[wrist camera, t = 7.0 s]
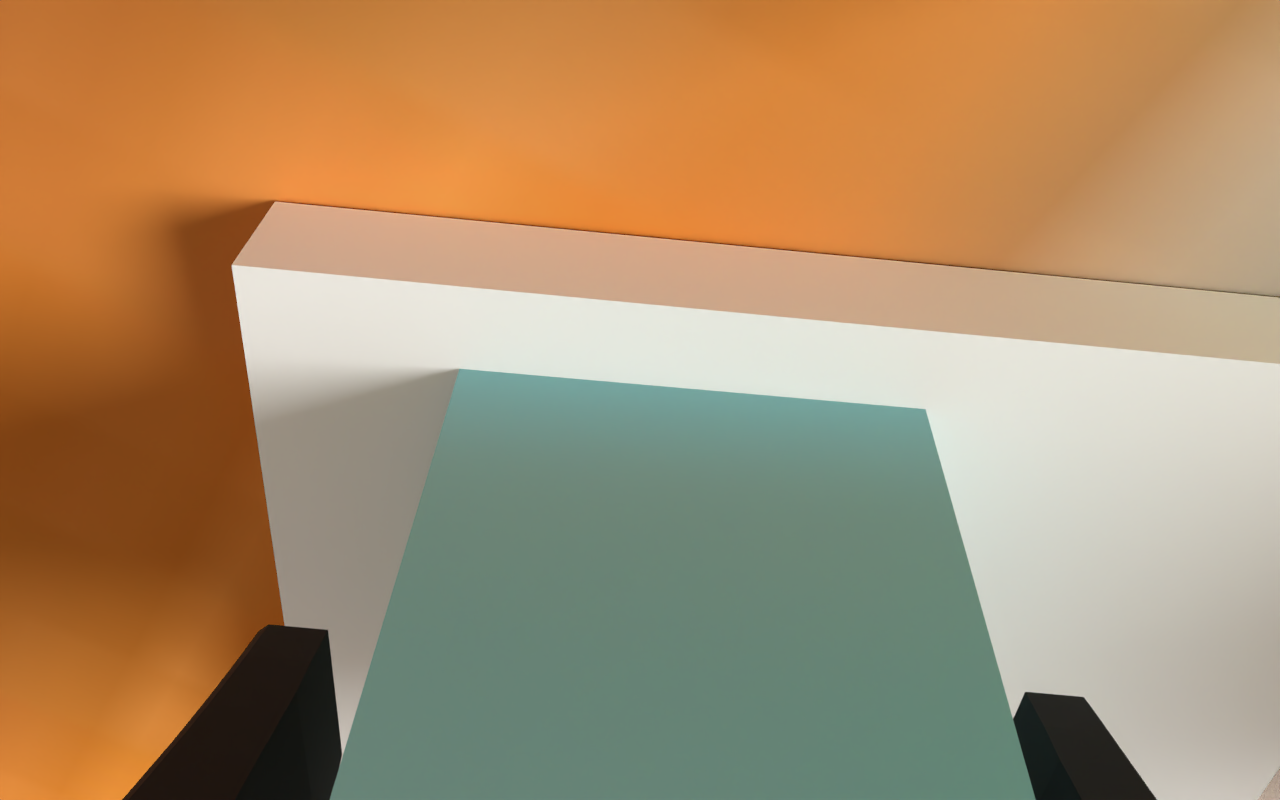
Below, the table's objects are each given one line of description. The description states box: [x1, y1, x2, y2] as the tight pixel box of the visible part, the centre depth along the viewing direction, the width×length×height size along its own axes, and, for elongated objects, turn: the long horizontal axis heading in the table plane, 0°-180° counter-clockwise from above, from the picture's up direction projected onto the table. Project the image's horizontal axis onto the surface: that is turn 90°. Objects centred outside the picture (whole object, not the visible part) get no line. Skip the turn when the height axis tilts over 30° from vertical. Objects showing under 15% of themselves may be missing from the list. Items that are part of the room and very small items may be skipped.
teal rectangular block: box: [330, 369, 1036, 800], centre depth 11 cm, size 5×5×7 cm
